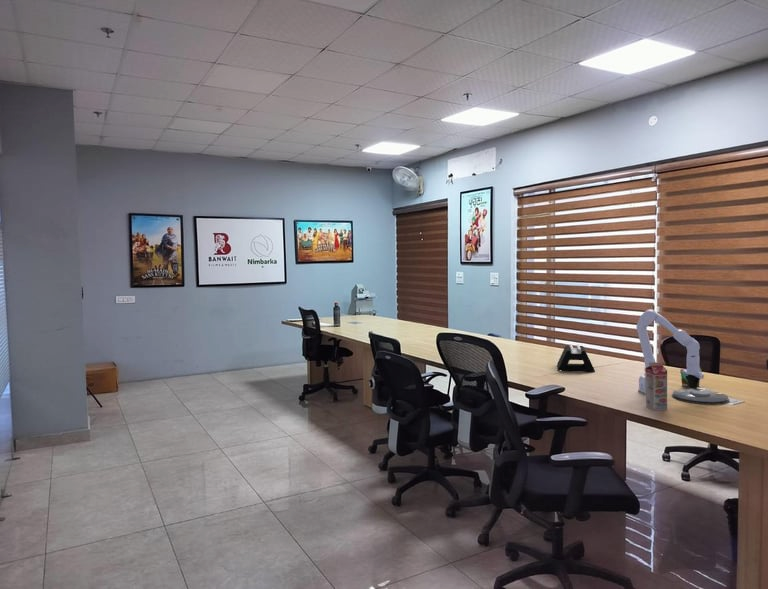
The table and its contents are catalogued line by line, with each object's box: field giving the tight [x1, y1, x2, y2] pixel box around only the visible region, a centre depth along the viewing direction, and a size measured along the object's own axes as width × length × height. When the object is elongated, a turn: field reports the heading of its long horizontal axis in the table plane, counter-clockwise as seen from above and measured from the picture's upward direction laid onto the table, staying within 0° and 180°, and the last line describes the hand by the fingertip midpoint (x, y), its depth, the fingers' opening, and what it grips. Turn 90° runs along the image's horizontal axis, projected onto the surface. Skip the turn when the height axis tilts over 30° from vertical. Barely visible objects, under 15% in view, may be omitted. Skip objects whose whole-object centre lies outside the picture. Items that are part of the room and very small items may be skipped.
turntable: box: [672, 388, 729, 403], centre depth 267 cm, size 24×24×1 cm
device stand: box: [557, 343, 596, 373], centre depth 352 cm, size 22×22×15 cm
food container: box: [679, 367, 703, 389], centre depth 291 cm, size 12×6×10 cm, turn 105°
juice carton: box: [645, 361, 668, 411], centre depth 250 cm, size 7×7×22 cm
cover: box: [689, 387, 712, 397], centre depth 267 cm, size 9×9×3 cm
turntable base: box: [671, 393, 730, 406], centre depth 267 cm, size 25×25×1 cm
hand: (693, 389), depth 273 cm, fingers closed
